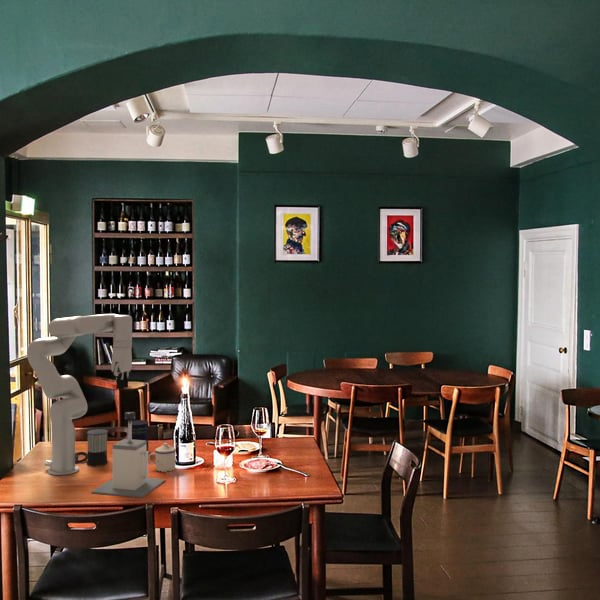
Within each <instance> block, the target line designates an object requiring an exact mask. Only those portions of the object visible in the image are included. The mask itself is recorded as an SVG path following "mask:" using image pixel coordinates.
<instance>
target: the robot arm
mask: <svg viewBox="0 0 600 600" xmlns="http://www.w3.org/2000/svg"><path fill="white" fill-rule="evenodd" d="M47 331H48V333H49V335H51V336H45V337H41V338H40V337H39V338H37V339H34V340H32V341H31V342H30V343H29V345H28V347H27V351H26V356H27V360H28V364H30V366H31V368H32V370H33V371H34V374H35V376H36V377H37V380H38V383H39V384H40V386H41V389H42V391H43V393H44V395H45V397H47V398H48V399H49V400H56V399H59V400H57V401H55V402H53V403H52V404H51V406H50V408H49V417H50V421H51V437H52V439H51V442H52V443H51V444H52V445H51V460H49V459H46V460H45V462H44V466H45V467H49V468H48V470H47V472H48V474H49V475H52V476H65V475H66V476H68V475H72V474H75V473H77V472H79V469H80V468H79V466H78V465H76V462H75V454H76V429H75V425H74V423H73V421H72V420H74V419H79V418H82V417H83V416H84V415H86V413H87V412H88V403H87V400H86V397H85V395H84V392H83V390H82V388H81V386H80V384H79V382H78V380H77V379H76V378H75V377H74V376H72V375H69V374H64V375H60V374H59V372H58V370H57V368H56V366H55V364H54V363H53V362H52V361H50V359H49V358H48V357H53V356H54V357H55V356H60V355H62V354H64V353H65V352H66V351H67V350H68V349H69V348H70V346H71V345H72V343H73V342H74V341H75V339H76V338H77V337H80V336H84V335H89V334H90V335H91V334H101V333H109V332H113V335H112V337H113V338H112V343H113V344H112V345H113V346H112V347H113V348H112V354H111V365H110V366H111V369H110V370H111V372H112V373H113V375H114V376H115V380H116V390H124V389H127V388H129V374H130V373H131V370H132V367H133V356H132V352H133V351H132V349H133V317H132V316H131V315H128V314H116V313H103V314H102V313H101V314H92V315H85V316H84V315H83V316H82V315H77V316H68V317H61V318H60V317H59V318H55V319H53V320H51V321H50V322H49V323H48V326H47ZM61 398H63V399H61Z"/></svg>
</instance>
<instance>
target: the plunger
mask: <svg viewBox="0 0 600 600" xmlns="http://www.w3.org/2000/svg"><path fill="white" fill-rule="evenodd" d="M124 419H125V420H126V421H127V436H128V437H127V439H128V443H132V421H134V420H136V412H134V411H126V412H124Z"/></svg>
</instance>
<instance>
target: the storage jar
mask: <svg viewBox="0 0 600 600" xmlns="http://www.w3.org/2000/svg"><path fill="white" fill-rule="evenodd" d="M132 439H133V440H146V441H147V444H146V451H148V452H149V440H148V439H149V421H148V420H146V419H145V420H144V419H143V420H142V419H134V420H132Z"/></svg>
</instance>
